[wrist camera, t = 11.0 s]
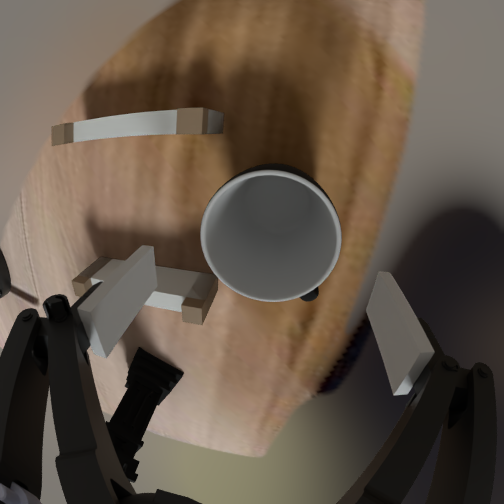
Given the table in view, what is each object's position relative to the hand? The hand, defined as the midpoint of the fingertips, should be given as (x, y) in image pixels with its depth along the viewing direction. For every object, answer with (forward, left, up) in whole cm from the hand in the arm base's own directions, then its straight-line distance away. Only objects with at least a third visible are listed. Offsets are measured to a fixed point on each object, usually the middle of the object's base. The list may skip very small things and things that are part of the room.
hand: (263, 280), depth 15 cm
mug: (+1, 0, -13) cm, 13 cm away
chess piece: (-17, -28, -13) cm, 35 cm away
